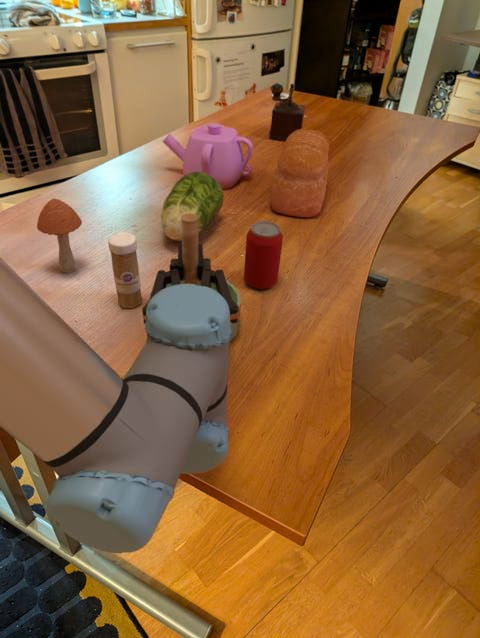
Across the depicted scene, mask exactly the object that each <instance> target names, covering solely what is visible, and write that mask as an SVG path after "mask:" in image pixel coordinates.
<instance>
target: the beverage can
mask: <svg viewBox="0 0 480 638" xmlns="http://www.w3.org/2000/svg"><path fill="white" fill-rule="evenodd" d="M283 236H284V235H283V234H282V231H281V228H280V226H279V225H278V224H276V223H275V222H272V221H265V220H264V221H263V220H261V221H257V222H254V223H252V225H251V227H250V229H249V230H248V231H247V233H246V241H245V253H244V269H243V279H244V282H245V283H246V284H248V286H250V287H253V288H255V289H259V290H263V289H269V288H272V287H274V286H275V285H276V284H277V283H278V278H279V273H280V272H279V271H280V266H281V265H280V264H281V258H282V257H281V256H282V249H283V248H282V247H283V241H284V240H283V239H284V237H283Z"/></svg>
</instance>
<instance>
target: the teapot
mask: <svg viewBox="0 0 480 638" xmlns="http://www.w3.org/2000/svg"><path fill="white" fill-rule="evenodd" d="M162 143H163V144H164V145H165V146H166V147H167V148H168V149H169V150H170V151H171V152H172V153H173V154H175V155H176V156H177V158H179V159H180V160H181V161H182V173H183V176H185V175H187V174H189V173H193V172H202V173H206V174H208V175H210V176H211V177H213V178H214V179H215V180H216V181H217V182H218V184H219V185H220V186H221V189H222V190H224V189H225V190H227V189H230V188H231V189H232V187H234V186H235V185H236V184H237V183H238V181H240V179H241V178H242V175H243V176H249V175H250V174H252V172H253V167H252V165H251V164H250V163H248V162H249V161H250V158H251V156H252V154H253V151H254V146H253V143H252V141H251V140H250V139H248V138H247V137H246V136H239V134H238V131H237V130H236V129H235V128H234V127H229V126H224V125H223V124H221V123H219V122H209V123H207V124H201V125H199V126H197V127H195V128H194V129H193V130H192V131H191V133H190V135H189V137H188V141H187V143H186V146H185V147H184V146H183V145H182V144H181V143H180V142H179V141H178V140H177V139H176V138H175V137H174V136H173V135H172V134H171V133H168V135H167V136H166V137H165V138H164V139H163V140H162ZM242 143H243V144H245V145H246V146H247V153H246V156H245V157H244V154H243V153H244V152H243V148H242ZM246 168H247V169H248V170H246Z"/></svg>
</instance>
